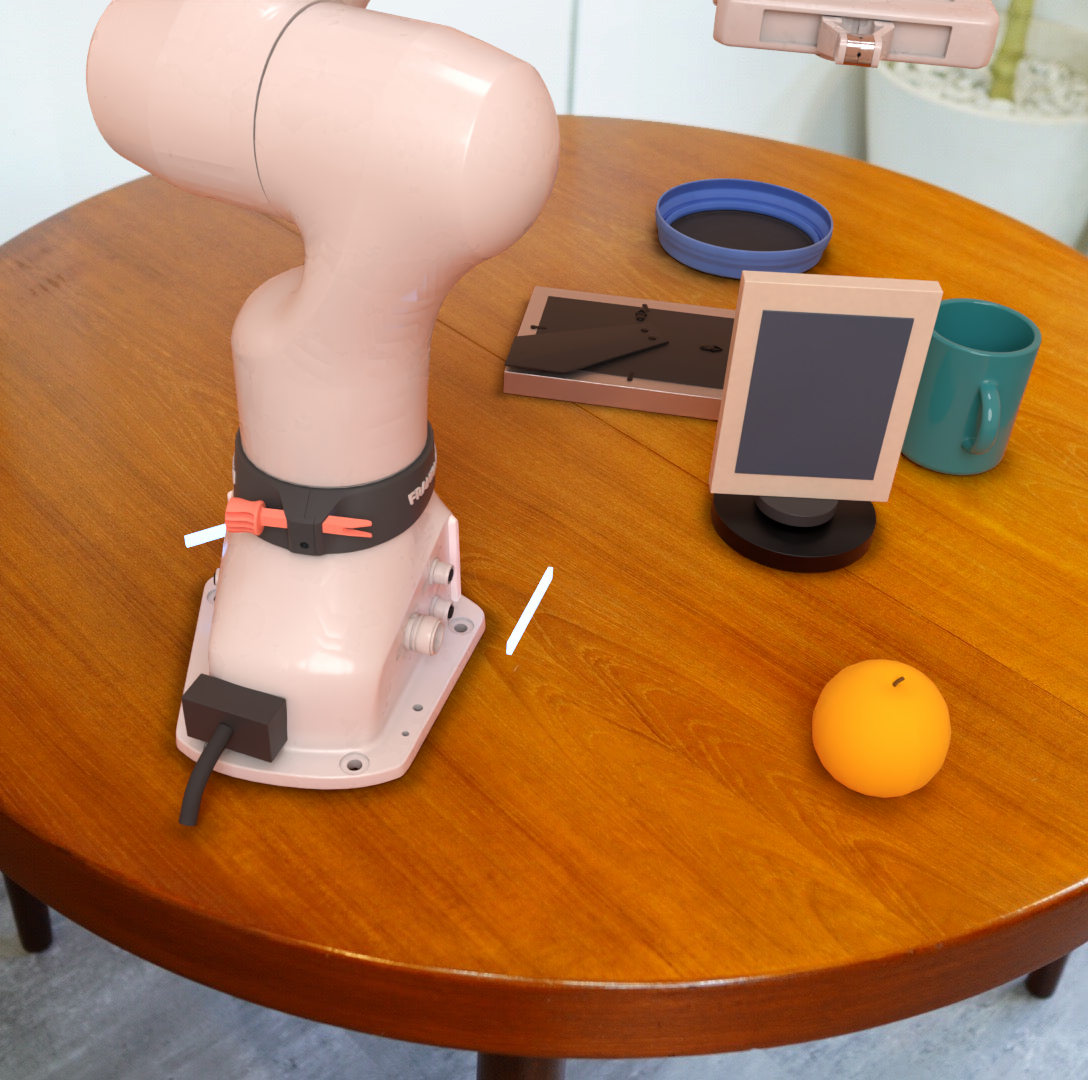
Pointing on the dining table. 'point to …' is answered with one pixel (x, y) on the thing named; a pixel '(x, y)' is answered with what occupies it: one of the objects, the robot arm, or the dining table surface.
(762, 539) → the swivel base
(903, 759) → the orange
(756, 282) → the photo frame
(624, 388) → the picture frame
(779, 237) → the bowl
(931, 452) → the cup
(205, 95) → the robot arm
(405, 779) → the dining table surface
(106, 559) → the dining table surface
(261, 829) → the dining table surface
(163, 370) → the dining table surface
